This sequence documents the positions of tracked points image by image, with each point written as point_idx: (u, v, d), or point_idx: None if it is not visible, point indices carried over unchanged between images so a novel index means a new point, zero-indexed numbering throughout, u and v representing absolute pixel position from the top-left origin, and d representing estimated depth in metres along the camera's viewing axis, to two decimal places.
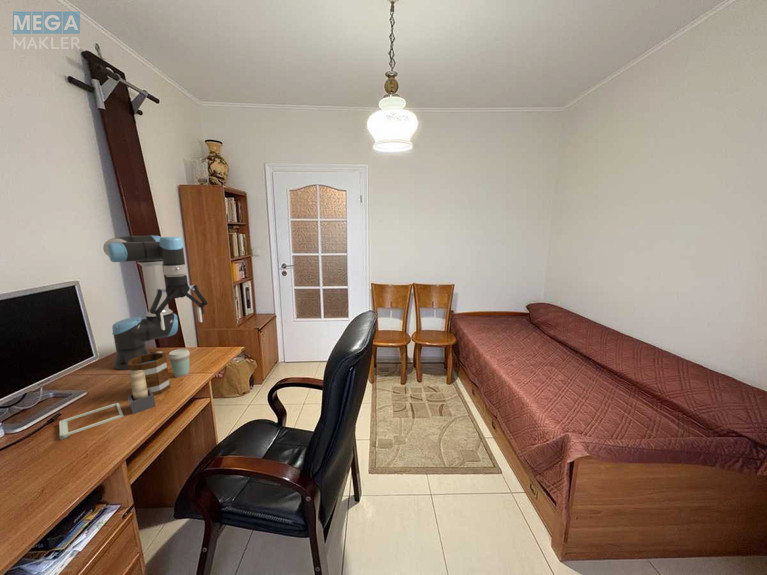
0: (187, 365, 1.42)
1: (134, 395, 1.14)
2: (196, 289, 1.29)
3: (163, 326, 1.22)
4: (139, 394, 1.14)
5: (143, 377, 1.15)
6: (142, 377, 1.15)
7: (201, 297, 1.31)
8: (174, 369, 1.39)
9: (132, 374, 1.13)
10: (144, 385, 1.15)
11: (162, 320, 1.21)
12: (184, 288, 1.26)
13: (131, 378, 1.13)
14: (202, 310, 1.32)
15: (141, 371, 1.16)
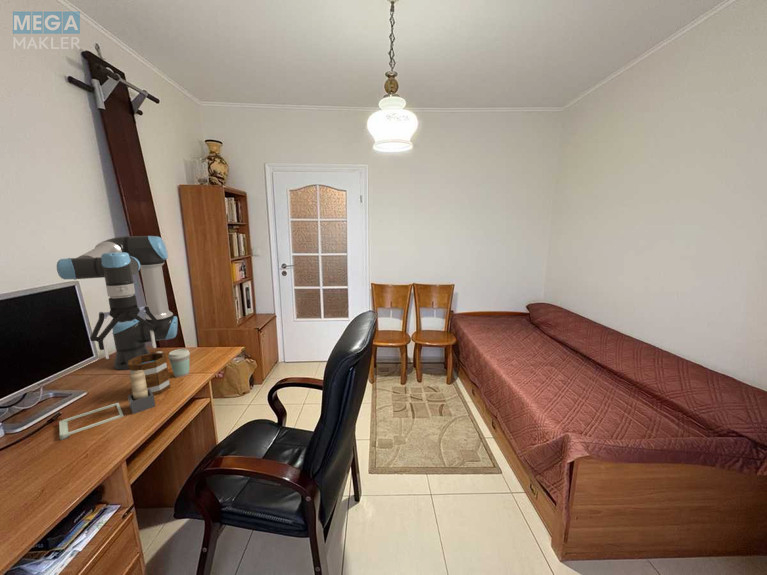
0: (187, 365, 1.42)
1: (134, 395, 1.14)
2: (148, 311, 1.14)
3: (106, 354, 1.07)
4: (139, 394, 1.14)
5: (143, 377, 1.15)
6: (142, 377, 1.15)
7: (154, 320, 1.16)
8: (174, 369, 1.39)
9: (132, 374, 1.13)
10: (144, 385, 1.15)
11: (105, 348, 1.06)
12: (133, 310, 1.11)
13: (131, 378, 1.13)
14: (156, 334, 1.17)
15: (141, 371, 1.16)
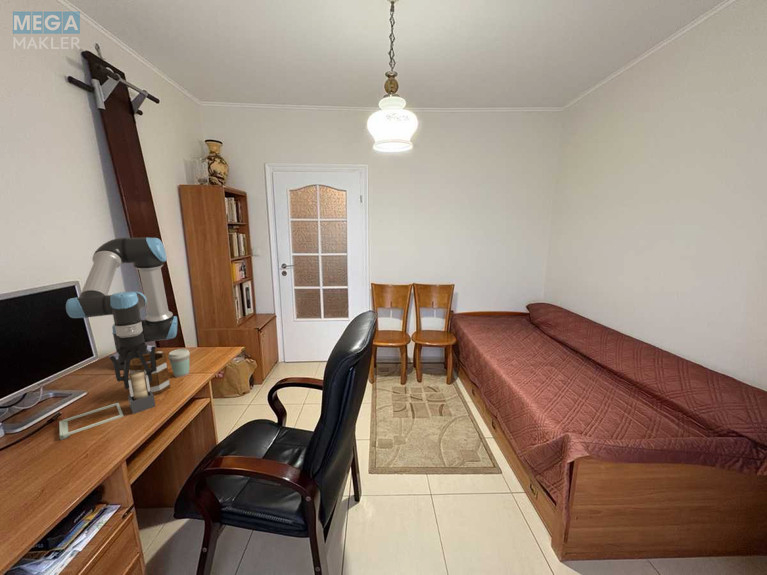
0: (187, 365, 1.42)
1: (134, 395, 1.14)
2: (153, 351, 1.16)
3: (131, 393, 1.13)
4: (139, 394, 1.14)
5: (143, 377, 1.15)
6: (142, 377, 1.15)
7: (153, 361, 1.17)
8: (174, 369, 1.39)
9: (132, 374, 1.13)
10: (144, 385, 1.15)
11: (130, 386, 1.13)
12: (141, 346, 1.14)
13: (131, 378, 1.13)
14: (150, 377, 1.17)
15: (141, 371, 1.16)
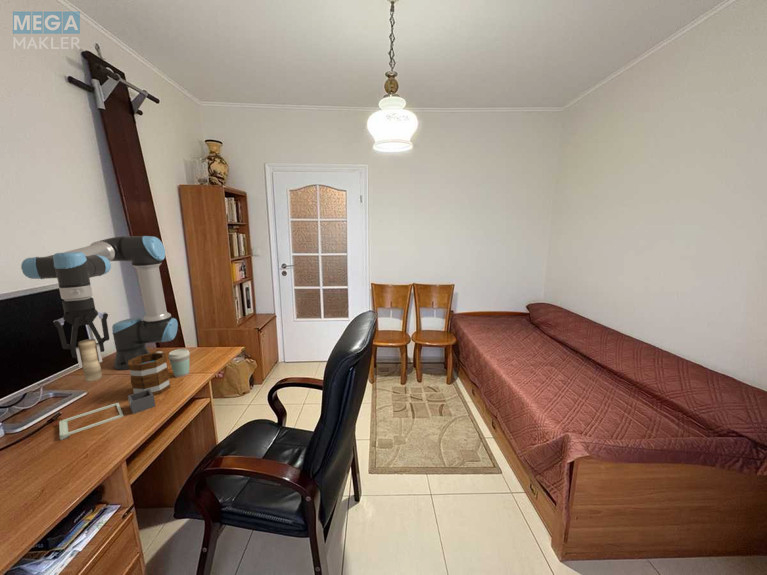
0: (187, 365, 1.42)
1: (83, 365, 1.05)
2: (105, 318, 1.07)
3: (80, 363, 1.04)
4: (89, 365, 1.05)
5: (94, 346, 1.06)
6: (93, 346, 1.05)
7: (105, 330, 1.08)
8: (174, 369, 1.39)
9: (81, 342, 1.04)
10: (95, 355, 1.06)
11: (78, 356, 1.03)
12: (90, 312, 1.04)
13: (79, 346, 1.03)
14: (102, 347, 1.08)
15: (92, 340, 1.06)
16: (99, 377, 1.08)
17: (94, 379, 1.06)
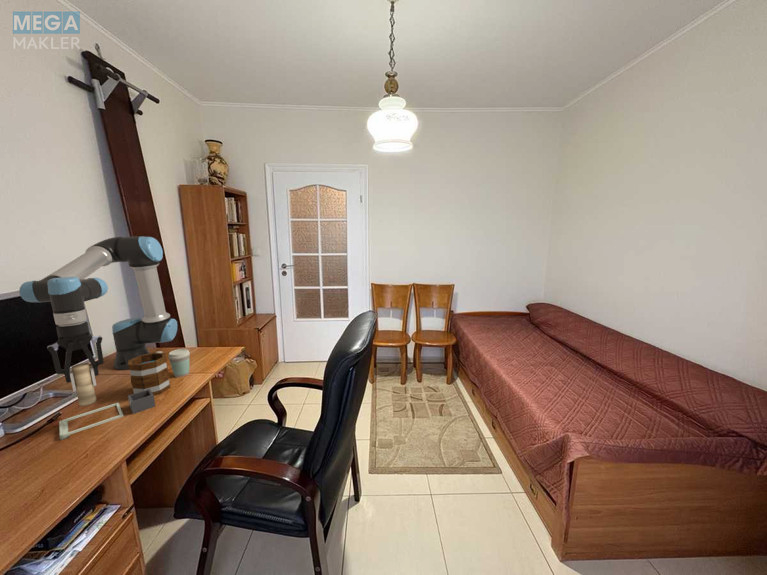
0: (187, 365, 1.42)
1: (77, 390, 1.05)
2: (99, 342, 1.07)
3: (74, 387, 1.04)
4: (83, 389, 1.05)
5: (87, 370, 1.06)
6: (86, 370, 1.05)
7: (99, 353, 1.08)
8: (174, 369, 1.39)
9: (75, 367, 1.04)
10: (89, 379, 1.06)
11: (72, 380, 1.03)
12: (84, 337, 1.05)
13: (73, 371, 1.04)
14: (96, 371, 1.08)
15: (86, 364, 1.06)
16: (93, 401, 1.08)
17: (88, 403, 1.06)
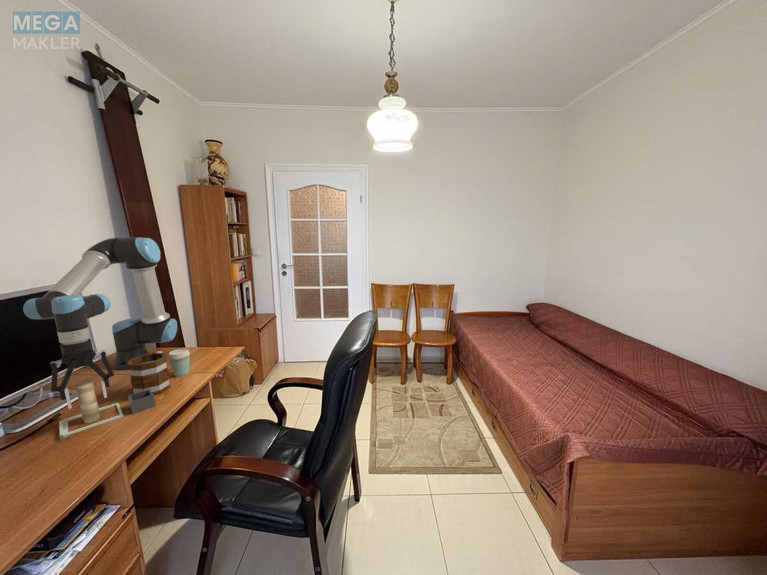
0: (187, 365, 1.42)
1: (81, 408, 1.06)
2: (104, 357, 1.09)
3: (69, 404, 1.04)
4: (87, 407, 1.07)
5: (91, 388, 1.07)
6: (90, 388, 1.07)
7: (107, 367, 1.10)
8: (174, 369, 1.39)
9: (79, 385, 1.05)
10: (93, 397, 1.08)
11: (67, 397, 1.03)
12: (87, 354, 1.06)
13: (77, 390, 1.05)
14: (107, 383, 1.11)
15: (89, 382, 1.08)
16: (97, 418, 1.09)
17: (92, 421, 1.08)
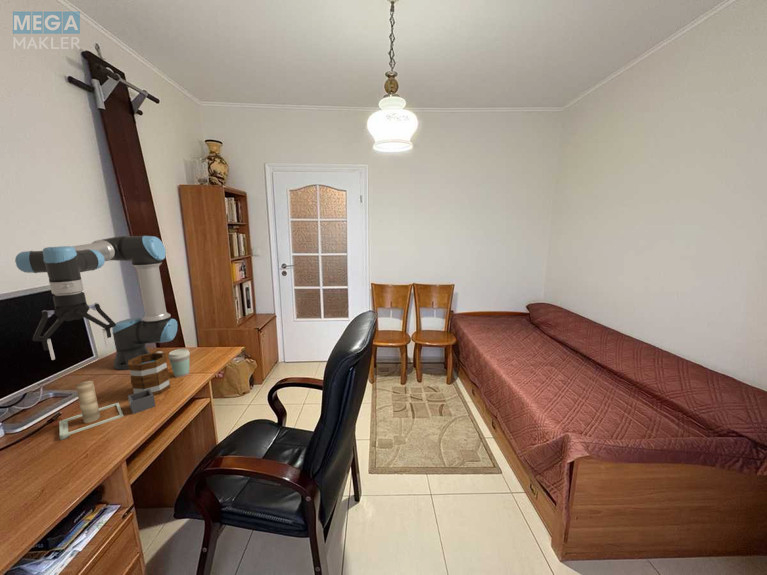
0: (187, 365, 1.42)
1: (81, 408, 1.06)
2: (98, 309, 1.07)
3: (52, 355, 1.00)
4: (87, 407, 1.07)
5: (92, 388, 1.07)
6: (91, 388, 1.07)
7: (106, 318, 1.09)
8: (174, 369, 1.39)
9: (79, 385, 1.05)
10: (93, 397, 1.08)
11: (50, 348, 1.00)
12: (81, 308, 1.04)
13: (78, 390, 1.05)
14: (109, 333, 1.11)
15: (90, 382, 1.08)
16: (97, 418, 1.09)
17: (92, 421, 1.08)
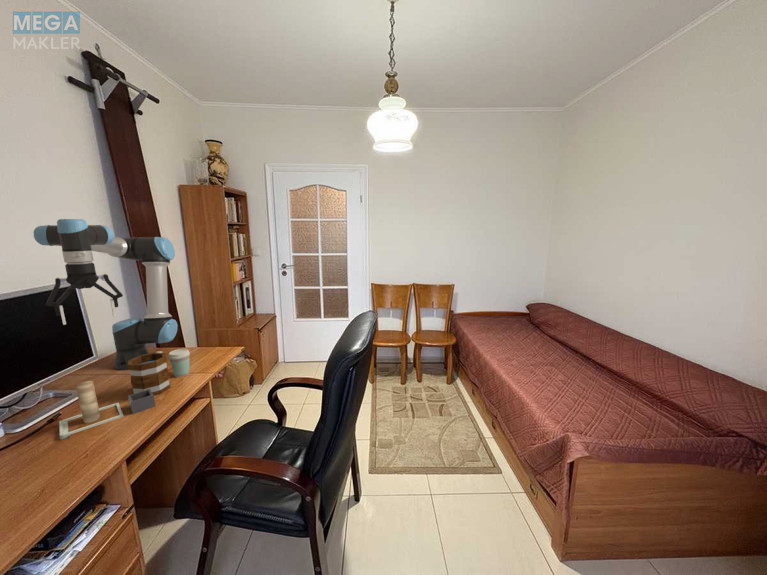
0: (187, 365, 1.42)
1: (81, 408, 1.06)
2: (107, 279, 1.15)
3: (63, 320, 1.08)
4: (87, 407, 1.07)
5: (91, 388, 1.07)
6: (91, 388, 1.07)
7: (114, 288, 1.17)
8: (174, 369, 1.39)
9: (79, 385, 1.05)
10: (93, 397, 1.08)
11: (62, 313, 1.07)
12: (91, 278, 1.12)
13: (78, 390, 1.05)
14: (116, 303, 1.18)
15: (90, 382, 1.08)
16: (97, 418, 1.09)
17: (92, 421, 1.08)
